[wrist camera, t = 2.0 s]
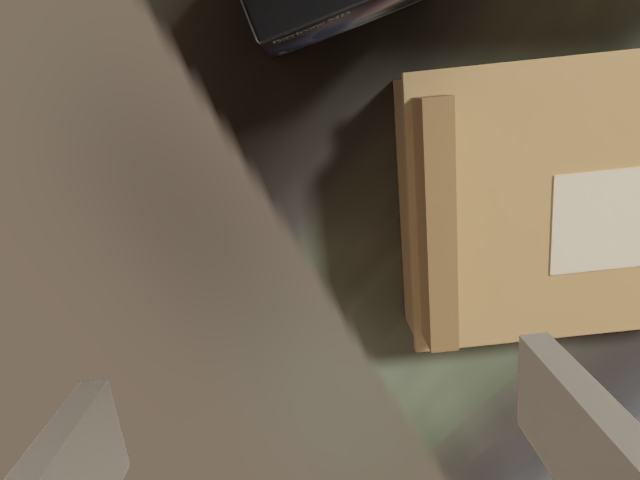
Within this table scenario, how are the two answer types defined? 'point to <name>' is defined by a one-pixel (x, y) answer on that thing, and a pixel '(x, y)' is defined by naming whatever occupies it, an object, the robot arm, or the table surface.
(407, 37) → the table surface
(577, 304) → the lid
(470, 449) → the table surface
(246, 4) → the small box
